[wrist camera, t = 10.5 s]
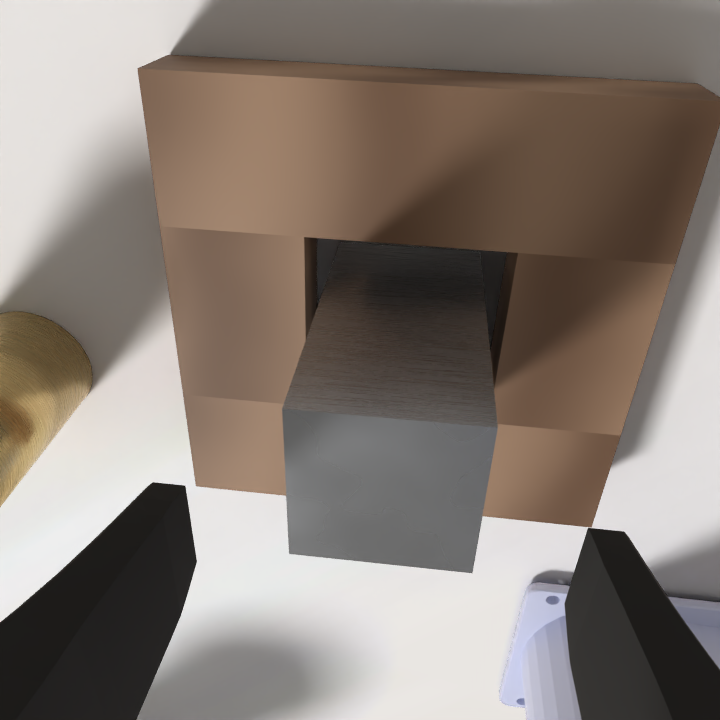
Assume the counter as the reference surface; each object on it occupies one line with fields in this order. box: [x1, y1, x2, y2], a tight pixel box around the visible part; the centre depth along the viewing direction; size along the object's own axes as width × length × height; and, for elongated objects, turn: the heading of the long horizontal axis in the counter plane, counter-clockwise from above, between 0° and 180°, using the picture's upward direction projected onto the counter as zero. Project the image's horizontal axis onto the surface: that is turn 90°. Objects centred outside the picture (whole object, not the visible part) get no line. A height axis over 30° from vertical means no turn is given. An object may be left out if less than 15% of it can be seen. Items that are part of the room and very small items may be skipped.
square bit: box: [282, 242, 498, 573], centre depth 17 cm, size 4×4×8 cm
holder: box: [138, 55, 720, 527], centre depth 19 cm, size 13×13×2 cm
